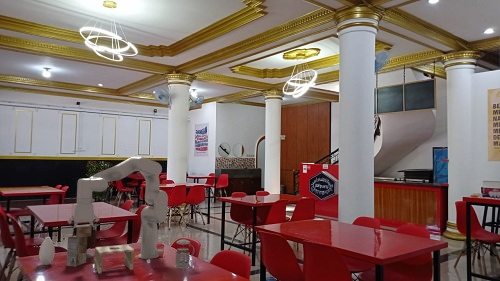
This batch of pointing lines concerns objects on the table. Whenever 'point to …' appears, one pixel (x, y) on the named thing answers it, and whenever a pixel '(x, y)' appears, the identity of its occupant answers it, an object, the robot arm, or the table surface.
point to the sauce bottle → (47, 251)
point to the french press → (183, 254)
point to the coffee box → (74, 252)
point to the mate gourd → (91, 241)
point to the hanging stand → (108, 249)
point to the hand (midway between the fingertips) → (83, 234)
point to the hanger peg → (83, 237)
